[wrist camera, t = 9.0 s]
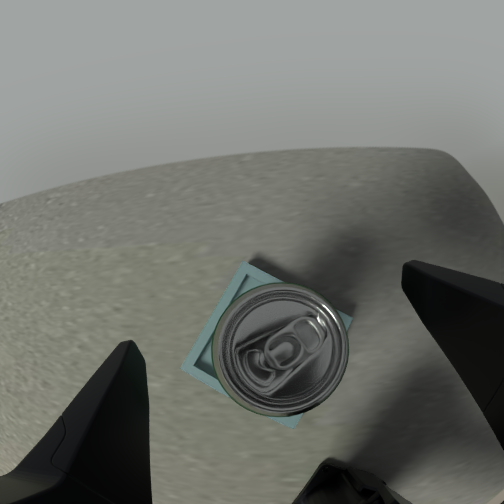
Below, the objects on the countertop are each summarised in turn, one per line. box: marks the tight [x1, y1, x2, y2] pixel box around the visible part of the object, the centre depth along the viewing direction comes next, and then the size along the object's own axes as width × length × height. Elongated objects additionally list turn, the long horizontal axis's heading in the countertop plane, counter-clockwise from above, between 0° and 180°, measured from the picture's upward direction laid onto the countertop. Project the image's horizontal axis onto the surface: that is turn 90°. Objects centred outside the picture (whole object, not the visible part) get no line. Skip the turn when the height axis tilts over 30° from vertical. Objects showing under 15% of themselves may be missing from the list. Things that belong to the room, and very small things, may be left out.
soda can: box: [211, 282, 349, 417], centre depth 15 cm, size 5×5×12 cm
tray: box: [180, 261, 353, 429], centre depth 21 cm, size 9×9×2 cm
